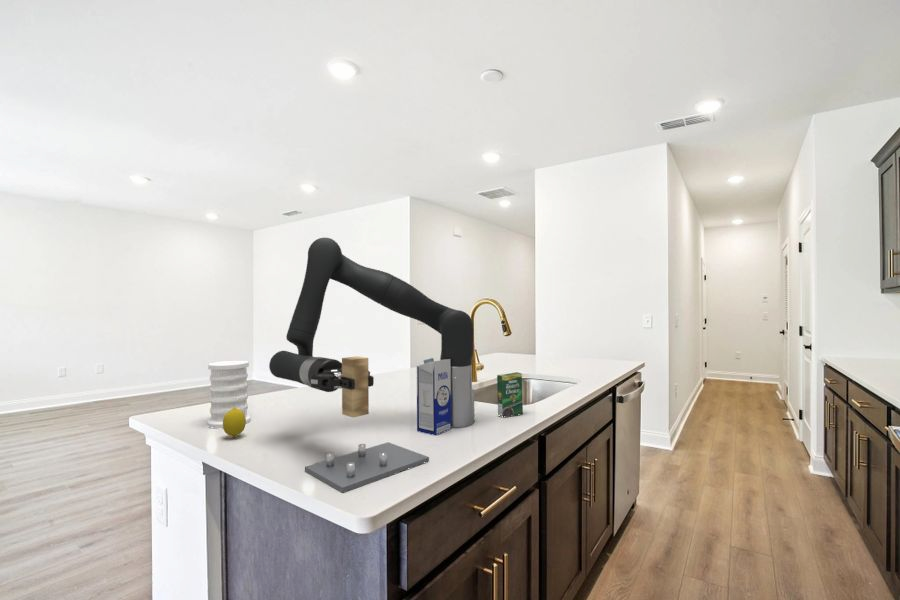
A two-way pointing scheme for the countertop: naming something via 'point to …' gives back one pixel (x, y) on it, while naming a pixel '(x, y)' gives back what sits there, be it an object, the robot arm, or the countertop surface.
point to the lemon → (234, 422)
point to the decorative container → (227, 390)
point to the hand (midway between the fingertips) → (362, 382)
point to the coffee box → (510, 394)
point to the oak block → (357, 398)
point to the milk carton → (434, 396)
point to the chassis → (364, 465)
